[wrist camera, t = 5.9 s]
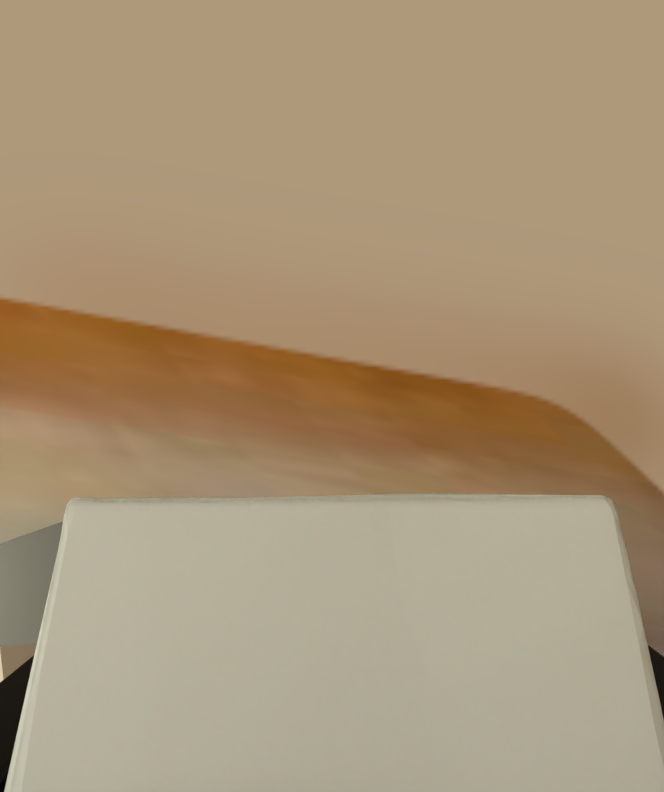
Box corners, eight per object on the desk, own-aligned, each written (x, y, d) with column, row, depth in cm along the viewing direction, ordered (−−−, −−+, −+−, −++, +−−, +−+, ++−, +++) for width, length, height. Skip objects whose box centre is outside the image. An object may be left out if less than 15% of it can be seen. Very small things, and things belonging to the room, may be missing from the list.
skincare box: (433, 572, 16) (639, 486, 5) (443, 730, 15) (774, 1075, 4) (241, 571, 16) (53, 484, 5) (230, 729, 15) (-73, 1070, 4)
